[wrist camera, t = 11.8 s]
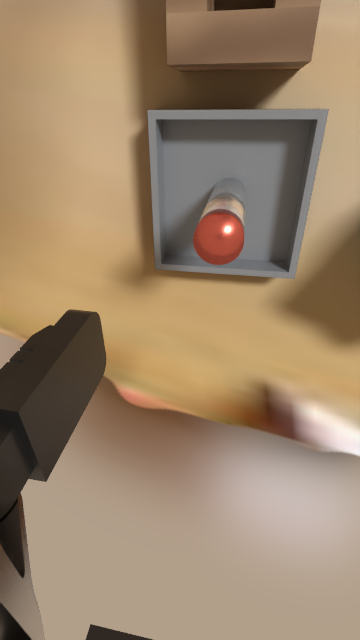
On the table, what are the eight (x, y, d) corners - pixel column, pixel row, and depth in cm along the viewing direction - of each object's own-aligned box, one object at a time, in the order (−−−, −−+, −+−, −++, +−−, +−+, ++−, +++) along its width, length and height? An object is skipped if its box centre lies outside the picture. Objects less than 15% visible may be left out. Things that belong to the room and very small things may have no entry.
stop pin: (212, 177, 29) (193, 214, 19) (247, 178, 28) (246, 216, 18) (211, 212, 30) (192, 263, 21) (244, 213, 30) (241, 266, 20)
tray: (156, 109, 27) (147, 110, 25) (321, 108, 25) (328, 109, 23) (162, 257, 34) (155, 269, 32) (291, 265, 32) (294, 278, 30)
